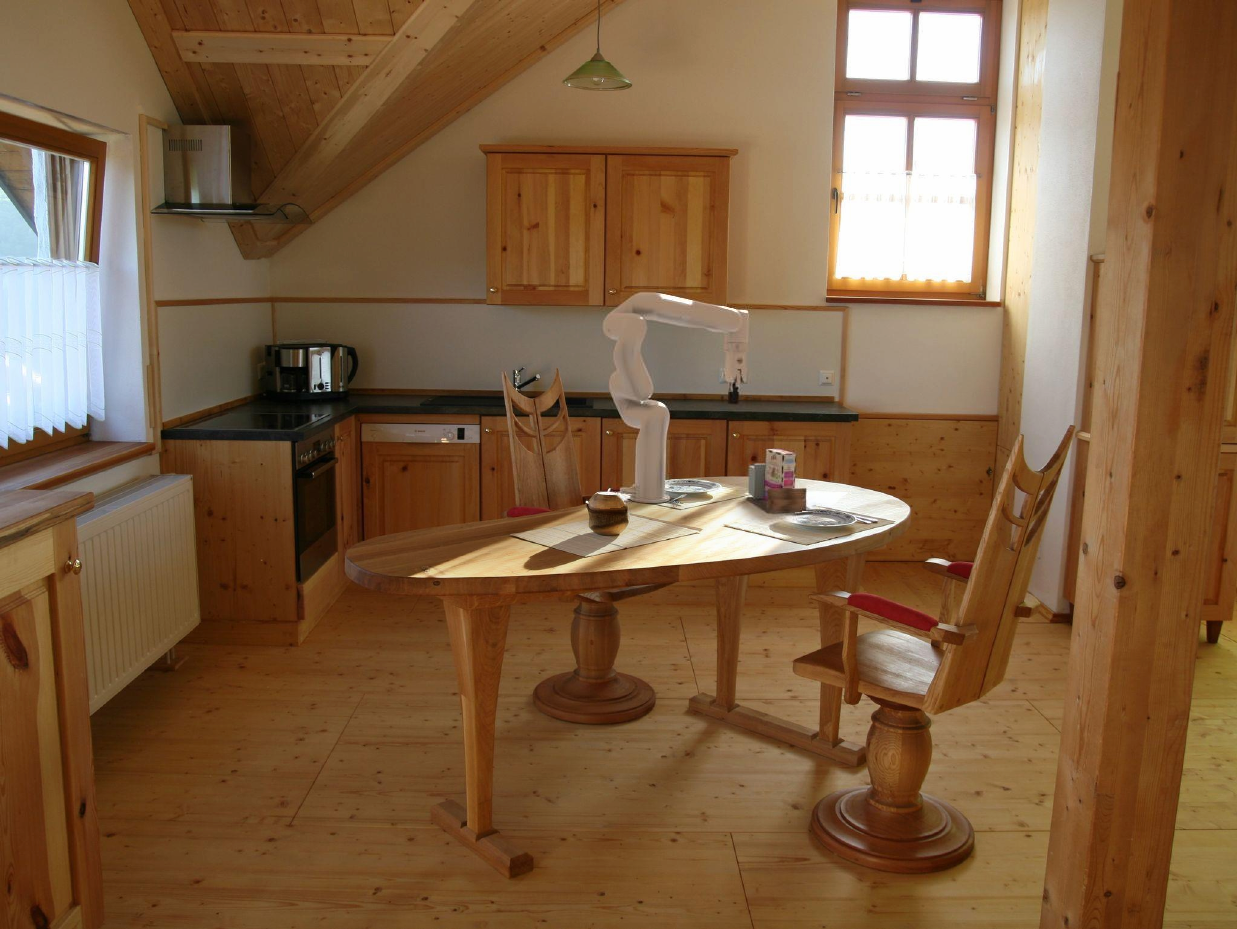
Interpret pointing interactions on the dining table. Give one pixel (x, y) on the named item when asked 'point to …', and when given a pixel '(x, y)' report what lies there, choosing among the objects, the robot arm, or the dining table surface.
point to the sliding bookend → (757, 481)
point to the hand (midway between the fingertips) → (733, 403)
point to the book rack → (782, 501)
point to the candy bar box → (779, 469)
